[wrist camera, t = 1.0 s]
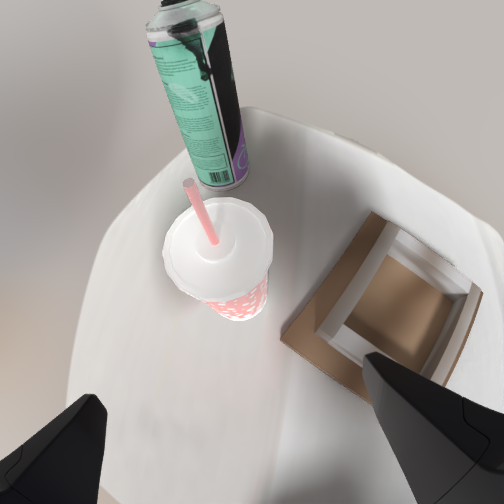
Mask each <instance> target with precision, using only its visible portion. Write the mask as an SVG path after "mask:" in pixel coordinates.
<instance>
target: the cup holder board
mask: <svg viewBox="0 0 504 504" xmlns="http://www.w3.org/2000/svg"><path fill="white" fill-rule="evenodd" d="M482 296H483V292H482V291H481V289H480V288H479V287H478V286H477V285H476V284H474V283H473V282H472V281H471V280H470V279H468V278H467V277H466V276H465V275H463V274H462V273H461V272H460V271H458V270H457V269H456V268H455V267H453V266H452V265H451V264H449V263H448V262H447V261H445V260H444V259H443V258H441V257H440V256H439V255H437V254H436V253H435V252H433V251H432V250H431V249H429V248H428V247H427V246H425V245H424V244H422V243H421V242H420V241H418V240H417V239H415V238H414V237H412V236H411V235H410V234H408V233H407V232H405V231H404V230H402V229H401V228H399V227H398V226H396V225H395V224H393V223H392V222H390V221H389V220H388V221H386V220H385V219H383V218H382V217H380V216H378V215H377V214H375V213H374V212H372V211H371V213H370V215H369V216H368V218H367V219H366V221H365V222H364V224H363V225H362V227H361V229H360V230H359V232H358V233H357V235H356V236H355V238H354V239H353V241H352V242H351V244H350V245H349V247H348V248H347V250H346V251H345V252H344V254H343V255H342V257H341V258H340V260H339V261H338V263H337V264H336V265H335V267H334V268H333V270H332V271H331V273H330V274H329V275H328V277H327V278H326V279H325V281H324V282H323V284H322V285H321V286H320V288H319V289H318V290H317V292H316V293H315V295H314V296H313V297H312V299H311V300H310V301H309V303H308V304H307V305H306V307H305V308H304V309H303V311H302V312H301V313H300V314H299V316H298V317H297V318H296V320H295V321H294V322H293V323H292V325H291V326H290V327H289V329H288V330H287V331H286V332H285V334H284V335H283V336H282V337H281V339H280V341H282V342H283V343H284V344H286V345H287V346H288V347H290V348H291V349H292V350H294V351H295V352H296V353H298V354H299V355H300V356H302V357H303V358H305V359H306V360H307V361H309V362H310V363H312V364H313V365H314V366H316V367H317V368H319V369H320V370H321V371H323V372H324V373H326V374H327V375H328V376H330V377H331V378H333V379H334V380H336V381H337V382H338V383H340V384H341V385H343V386H344V387H346V388H347V389H349V390H350V391H352V392H353V393H355V394H356V395H358V396H359V397H361V398H362V399H364V400H365V401H367V402H368V403H370V404H371V405H372V402H371V399H370V396H369V394H368V391H367V388H366V385H365V383H364V380H363V375H362V370H363V357H364V355H365V354H368V353H371V352H374V351H377V352H379V353H381V354H383V355H385V356H387V357H388V358H390V359H392V360H394V361H396V362H398V363H400V364H401V365H403V366H405V367H407V368H409V369H411V370H413V371H415V372H416V373H418V374H420V375H422V376H424V377H426V378H428V379H430V380H432V381H434V382H435V383H437V384H439V385H441V386H443V387H445V386H446V384H447V382H448V380H449V378H450V376H451V374H452V372H453V370H454V368H455V366H456V364H457V361H458V359H459V357H460V355H461V353H462V350H463V348H464V346H465V343H466V341H467V338H468V336H469V333H470V331H471V328H472V325H473V323H474V320H475V317H476V314H477V311H478V308H479V305H480V302H481V299H482Z"/></svg>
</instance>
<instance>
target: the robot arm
mask: <svg viewBox="0 0 504 504" xmlns="http://www.w3.org/2000/svg"><path fill="white" fill-rule="evenodd" d="M362 375H363V380H364V383H365V385H366V388H367V391H368V394H369V396H370V399H371V402H372V405H373V408H374V411H375V414H376V416H377V419H378V421H379V423H380V425H381V427H382V429H383V431H384V433H385V435H386V437H387V439H388V441H389V443H390V445H391V447H392V450H393V452H394V454H395V456H396V458H397V460H398V462H399V464H400V466H401V468H402V471H403V473H404V475H405V477H406V479H407V481H408V484H409V486H410V488H411V490H412V492H413V495H414V497H415V499H416V501H417V503H418V504H504V414H503V413H500V412H497V411H494V410H492V409H489V408H486V407H484V406H482V405H480V404H477V403H475V402H473V401H471V400H469V399H467V398H465V397H462V396H461V395H459V394H457V393H455V392H453V391H451V390H449V389H447V388H445V387H443V386H441V385H439V384H437V383H435V382H434V381H432V380H430V379H428V378H426V377H424V376H422V375H420V374H418V373H416V372H415V371H413V370H411V369H409V368H407V367H405V366H403V365H401V364H400V363H398V362H396V361H394V360H392V359H390V358H388V357H387V356H385V355H383V354H381V353H379V352H377V351H374V352H371V353H368V354H365V355H364V357H363V370H362ZM106 425H107V410H106V408H105V407H104V405H103V404H102V403H101V401H100V400H99V399H98V397H97V396H96V395H95V394H84V395H83V396H82V397H80V398H79V399H78V400H77V401H75V402H74V403H73V404H72V405H70V406H69V407H68V408H67V409H66V410H64V411H63V412H62V413H61V414H60V415H58V416H57V417H56V418H55V419H53V420H52V421H51V422H49V423H48V424H47V425H46V426H45V427H43V428H42V429H41V430H40V431H38V432H37V433H36V434H35V435H33V437H31V438H30V439H29V440H27V441H26V442H25V443H24V444H23V445H21V446H20V447H19V448H17V449H16V450H15V451H13V452H12V453H11V454H9V455H8V456H7V457H5V458H4V459H2V460H1V461H0V504H97V499H98V489H99V482H100V475H101V468H102V462H103V456H104V449H105V437H106Z"/></svg>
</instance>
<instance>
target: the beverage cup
mask: <svg viewBox="0 0 504 504" xmlns="http://www.w3.org/2000/svg"><path fill="white" fill-rule="evenodd" d="M183 187H184V189H185V191H186V193H187V195H188V197H189V199H190V201H191V204H192V206H191V207H189V208H188V209H187V210H186V211H184V212H183V213H182V214H180V215H179V216H178V217H177V218H176V220H175V221H174V223H173V224H172V226H171V227H170V229H169V230H168V232H167V233H166V237H165V242H164V246H163V251H162V255H163V260H164V264H165V269H166V272H167V274H168V275H169V276H170V278H171V279H172V280H173V282H174V283H175V284H176V285H177V287H178V288H179V289H180V290H182V291H183V292H184V293H186V294H188V295H190V296H192V297H194V298H196V299H198V300H200V301H203V302H204V303H206V304H207V305H208V306H210V307H211V308H213V309H214V310H215V311H217V312H218V313H219V314H221V315H222V316H224V317H226V318H228V319H230V320H237V321H244V320H247V319H250V318H252V317H254V316H255V315H257V314H258V313H259V312H260V311H261V310H262V309H263V307H264V305H265V303H266V300H267V283H268V269H269V267H270V265H271V263H272V261H273V232H272V230H271V228H270V225H269V223H268V221H267V219H266V216H265V215H264V214H262V213H261V212H260V211H259V210H258V209H257V208H256V207H254V206H253V205H252V204H251V203H248V202H245V201H242V200H239V199H236V198H233V197H221V198H210V199H207V200H205V201H203V200H202V198H201V196H200V193H199V191H198V188H197V186H196V184H195V181H194V179H192V178H188V179H186V180H185V181H184V182H183Z"/></svg>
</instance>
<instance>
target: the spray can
mask: <svg viewBox="0 0 504 504" xmlns="http://www.w3.org/2000/svg"><path fill="white" fill-rule="evenodd" d="M161 4H162V5H160V6H159V7H158V9H159V10H160V11H159V12H158V13H157V14H156V15H155V16H154V17H153V18H152V19H151V21H149V22H148V23H147V24H146V25H145V28H146V30H147V31H148V32H147V35H146V36H147V39H148V42H149V45H150V48H151V51H152V54H153V57H154V59H155V62H156V65H157V68H158V71H159V74H160V76H161V79H162V82H163V85H164V88H165V90H166V93H167V96H168V98H169V101H170V104H171V107H172V109H173V112H174V115H175V118H176V120H177V123H178V126H179V128H180V131H181V133H182V136H183V139H184V141H185V144H186V147H187V150H188V152H189V155H190V157H191V160H192V163H193V165H194V168H195V170H196V173H197V176H198V178H199V180H200V183H201V184H202V185H203V186H204V187H205V188H207V189H209V190H212V191H227V190H230V189H233V188H235V187H237V186H239V185H240V184H241V183H243V181H244V180H245V179H246V178H247V176H248V173H249V163H248V157H247V151H246V145H245V139H244V133H243V127H242V121H241V115H240V109H239V103H238V97H237V92H236V86H235V81H234V74H233V68H232V62H231V57H230V51H229V45H228V40H227V34H226V30H225V23H224V18H223V14H221V13H220V12H219V11H220V6H219V5H216V4H210V3H208V2H205V1H201V0H163V1H162V2H161Z"/></svg>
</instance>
